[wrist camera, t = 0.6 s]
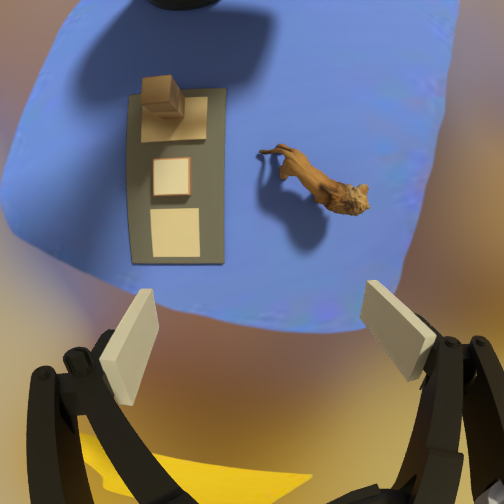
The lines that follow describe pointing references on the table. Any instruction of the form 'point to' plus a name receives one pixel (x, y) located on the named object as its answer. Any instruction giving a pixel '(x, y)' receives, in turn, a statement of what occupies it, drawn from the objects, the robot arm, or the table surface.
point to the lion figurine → (322, 183)
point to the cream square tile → (172, 176)
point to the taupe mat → (177, 206)
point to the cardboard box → (171, 112)
